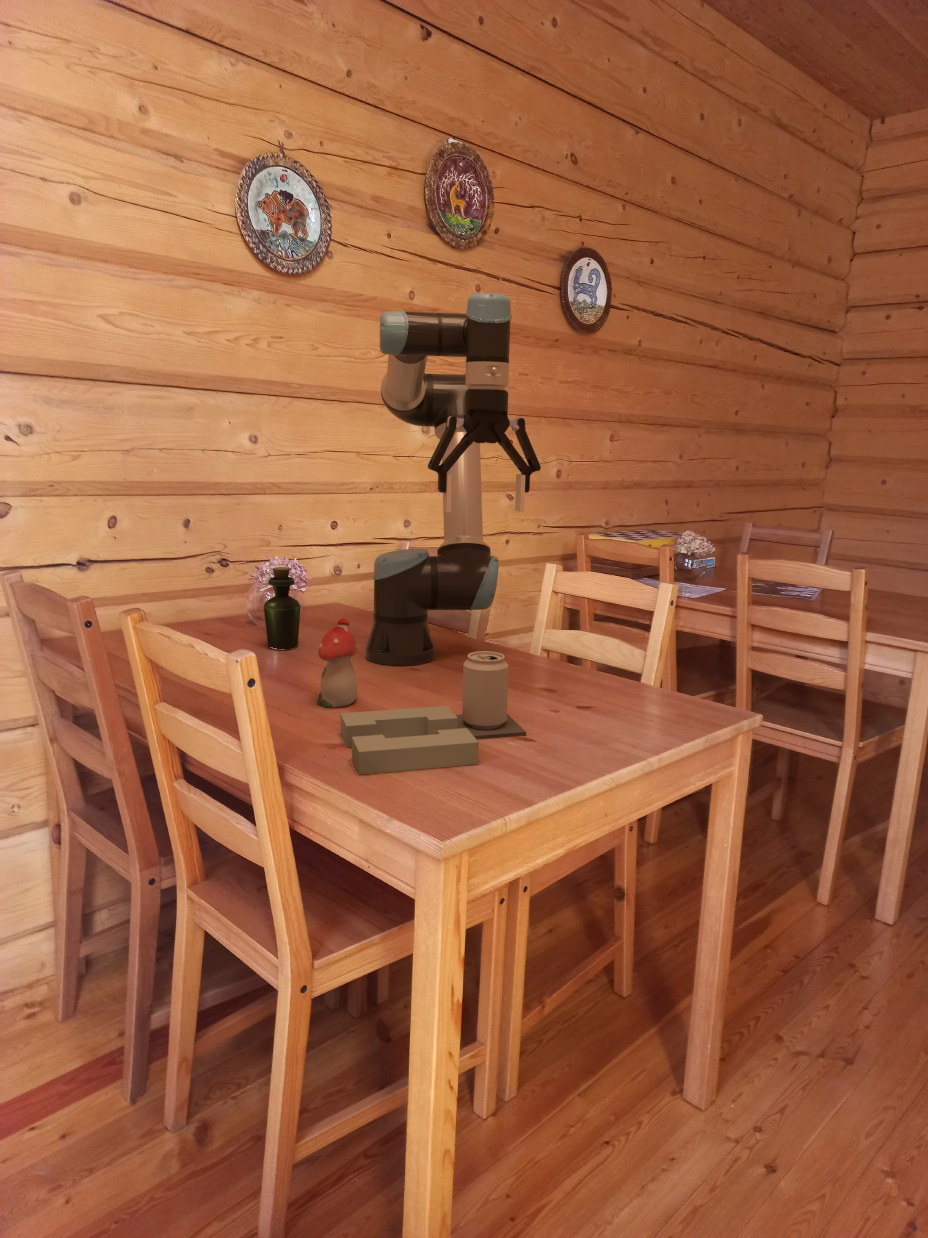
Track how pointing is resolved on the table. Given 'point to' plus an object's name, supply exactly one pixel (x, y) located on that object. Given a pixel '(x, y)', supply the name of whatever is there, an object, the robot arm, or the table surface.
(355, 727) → the pocket block
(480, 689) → the can
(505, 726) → the coaster
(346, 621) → the decorative ornament
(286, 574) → the potion bottle
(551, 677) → the table surface
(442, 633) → the table surface
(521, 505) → the robot arm
